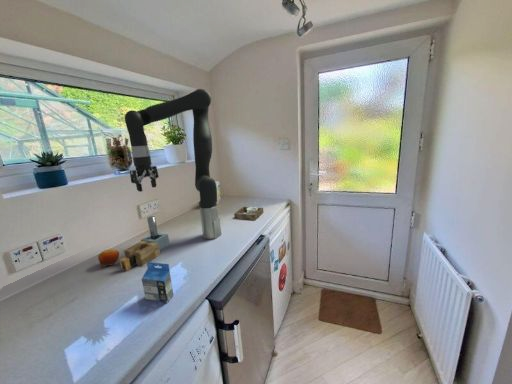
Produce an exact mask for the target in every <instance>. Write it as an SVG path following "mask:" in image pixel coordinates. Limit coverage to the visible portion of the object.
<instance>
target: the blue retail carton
mask: <svg viewBox="0 0 512 384" xmlns="http://www.w3.org/2000/svg"><path fill="white" fill-rule="evenodd" d="M146 265H147V269H146V271H145V272H144V274H143V275H142V277H141V283H142V288H143V292H144V298H145V300H146V301H154V302H162V303H167V302H168V301H169V300H170V299H172V298H173V297H174V290H173V283H172V278H171V271H170V266H169V265H170V264H169V263H159V262H152V261H149V262H147V263H146ZM170 301H171V300H170ZM170 301H169V302H170ZM169 302H168V303H169Z"/></svg>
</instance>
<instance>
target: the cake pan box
mask: <svg viewBox="0 0 512 384" xmlns="http://www.w3.org/2000/svg"><path fill="white" fill-rule="evenodd" d="M215 182H216V187H217V205H218V204H219V203H220V202H221V189H220V188H221V187H220V181H215Z"/></svg>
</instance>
